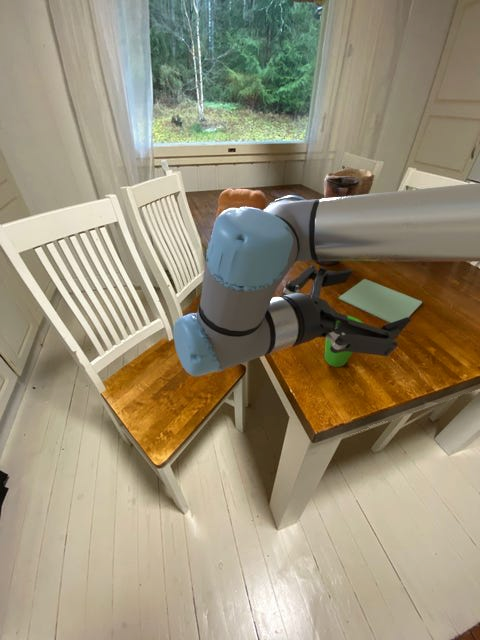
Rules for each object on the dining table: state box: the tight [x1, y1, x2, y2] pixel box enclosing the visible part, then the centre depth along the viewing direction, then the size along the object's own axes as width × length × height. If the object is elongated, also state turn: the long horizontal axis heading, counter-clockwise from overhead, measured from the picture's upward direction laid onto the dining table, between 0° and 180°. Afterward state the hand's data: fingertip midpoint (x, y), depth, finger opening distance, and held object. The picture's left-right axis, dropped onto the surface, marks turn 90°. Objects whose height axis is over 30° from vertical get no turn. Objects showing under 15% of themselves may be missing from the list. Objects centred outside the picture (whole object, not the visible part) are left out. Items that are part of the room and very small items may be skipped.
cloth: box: [337, 278, 423, 324], centre depth 89 cm, size 20×18×1 cm
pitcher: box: [314, 177, 359, 266], centre depth 101 cm, size 17×21×30 cm
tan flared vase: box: [323, 167, 375, 196], centre depth 138 cm, size 22×22×25 cm
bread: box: [215, 188, 267, 220], centre depth 137 cm, size 16×26×17 cm, turn 78°
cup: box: [324, 314, 363, 368], centre depth 65 cm, size 9×9×11 cm
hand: (374, 298), depth 49 cm, fingers open, 13 cm apart
